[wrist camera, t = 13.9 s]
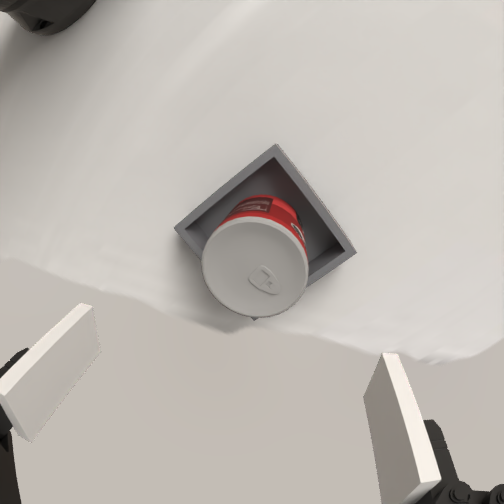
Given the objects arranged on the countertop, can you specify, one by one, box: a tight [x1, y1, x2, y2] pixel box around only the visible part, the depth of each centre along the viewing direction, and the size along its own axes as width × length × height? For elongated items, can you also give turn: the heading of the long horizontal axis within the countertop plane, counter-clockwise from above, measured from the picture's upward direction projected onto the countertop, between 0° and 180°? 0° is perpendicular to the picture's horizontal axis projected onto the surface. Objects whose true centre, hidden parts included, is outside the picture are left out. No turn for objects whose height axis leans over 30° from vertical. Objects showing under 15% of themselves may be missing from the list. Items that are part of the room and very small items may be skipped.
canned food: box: [201, 194, 309, 318], centre depth 28 cm, size 8×8×11 cm
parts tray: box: [174, 144, 357, 320], centre depth 32 cm, size 13×13×4 cm
